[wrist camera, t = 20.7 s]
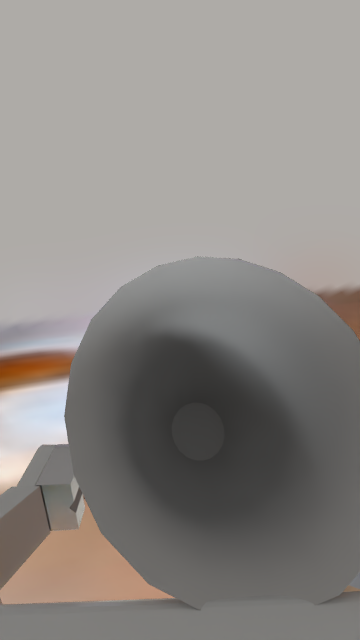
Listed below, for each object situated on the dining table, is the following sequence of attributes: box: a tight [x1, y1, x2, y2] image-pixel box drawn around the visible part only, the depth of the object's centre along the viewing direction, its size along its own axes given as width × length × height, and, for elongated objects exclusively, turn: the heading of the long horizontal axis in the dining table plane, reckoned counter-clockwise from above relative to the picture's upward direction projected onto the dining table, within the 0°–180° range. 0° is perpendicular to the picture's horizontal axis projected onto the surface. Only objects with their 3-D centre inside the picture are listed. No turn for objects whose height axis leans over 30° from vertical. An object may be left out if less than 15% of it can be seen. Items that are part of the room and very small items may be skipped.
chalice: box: [64, 257, 360, 611], centre depth 14 cm, size 7×7×18 cm
